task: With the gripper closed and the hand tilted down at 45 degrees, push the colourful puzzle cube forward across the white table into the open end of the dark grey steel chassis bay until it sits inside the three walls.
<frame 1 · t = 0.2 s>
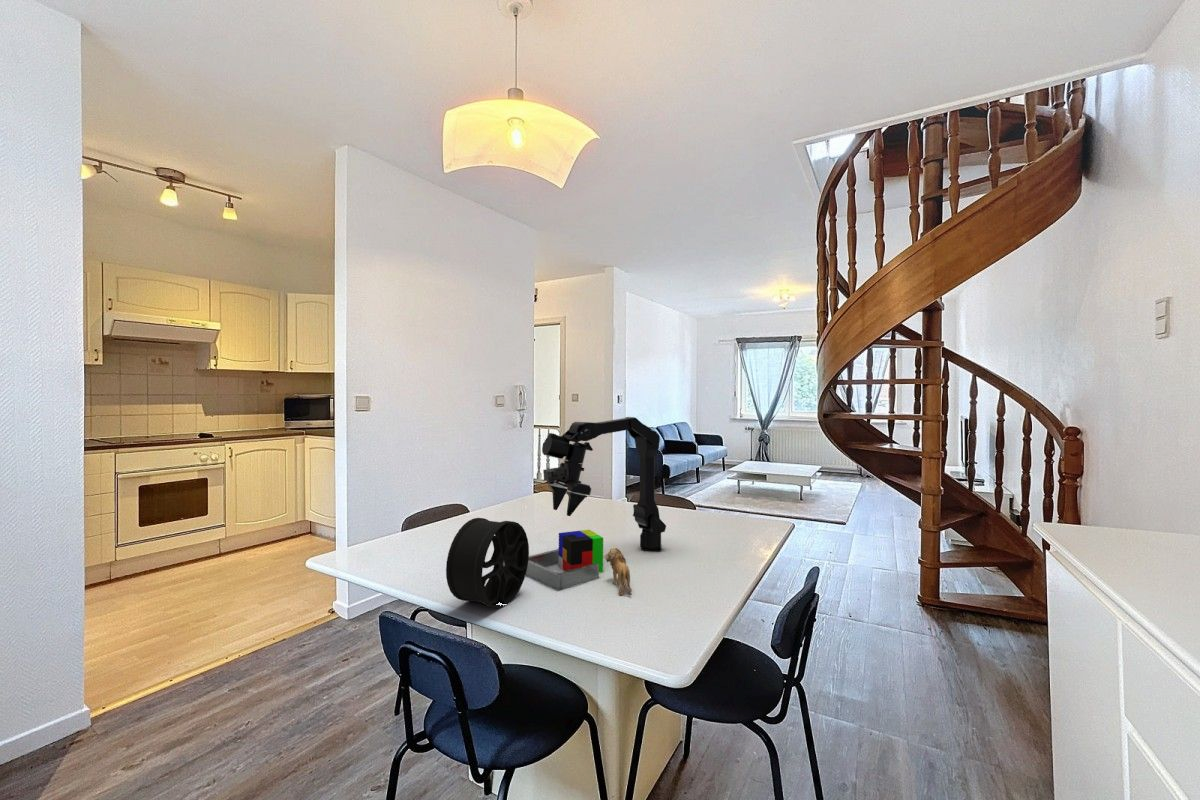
hand: (561, 512, 152), 16 cm above the table, tool pointing down, fingers open, 9 cm apart
car wheel rim: (489, 602, 124), on the table
chassis bay: (560, 574, 143), on the table
puzzle toy: (580, 569, 148), on the table
lion figurine: (619, 587, 134), on the table
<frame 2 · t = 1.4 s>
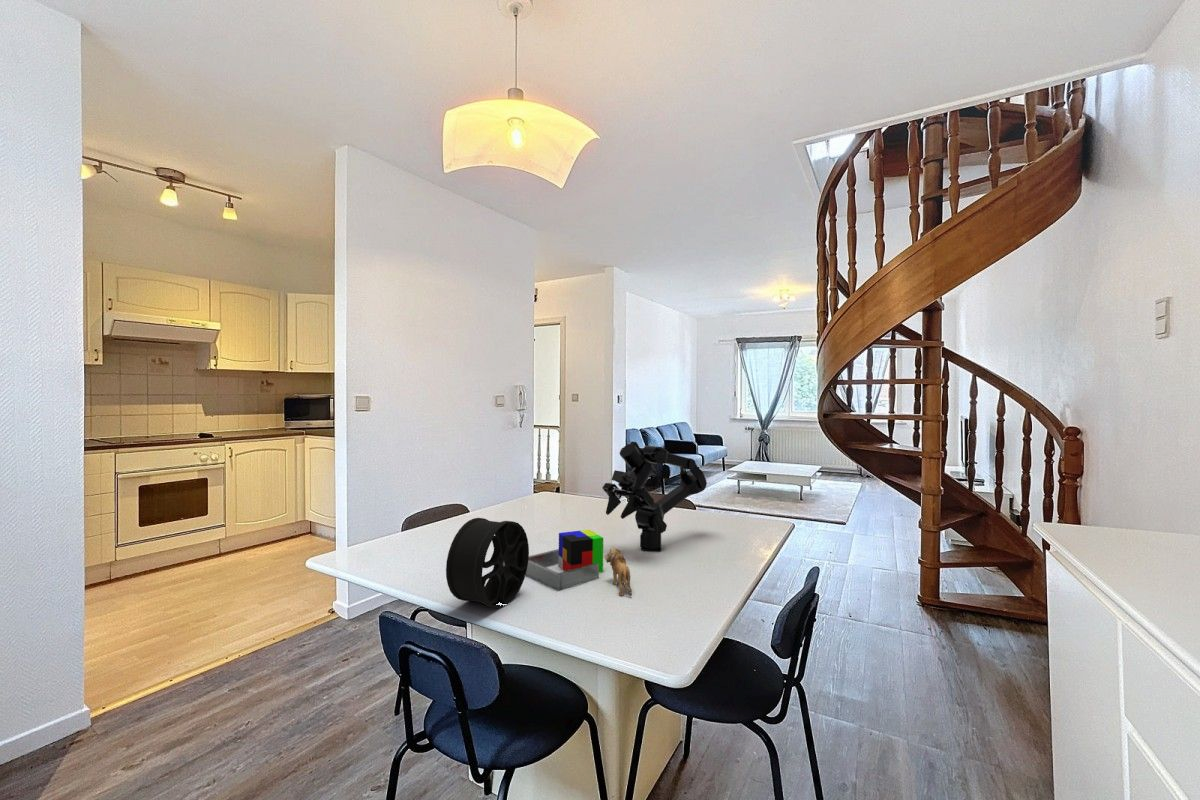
hand: (614, 516, 157), 14 cm above the table, tool tilted 45°, fingers open, 6 cm apart
nothing on the table moved.
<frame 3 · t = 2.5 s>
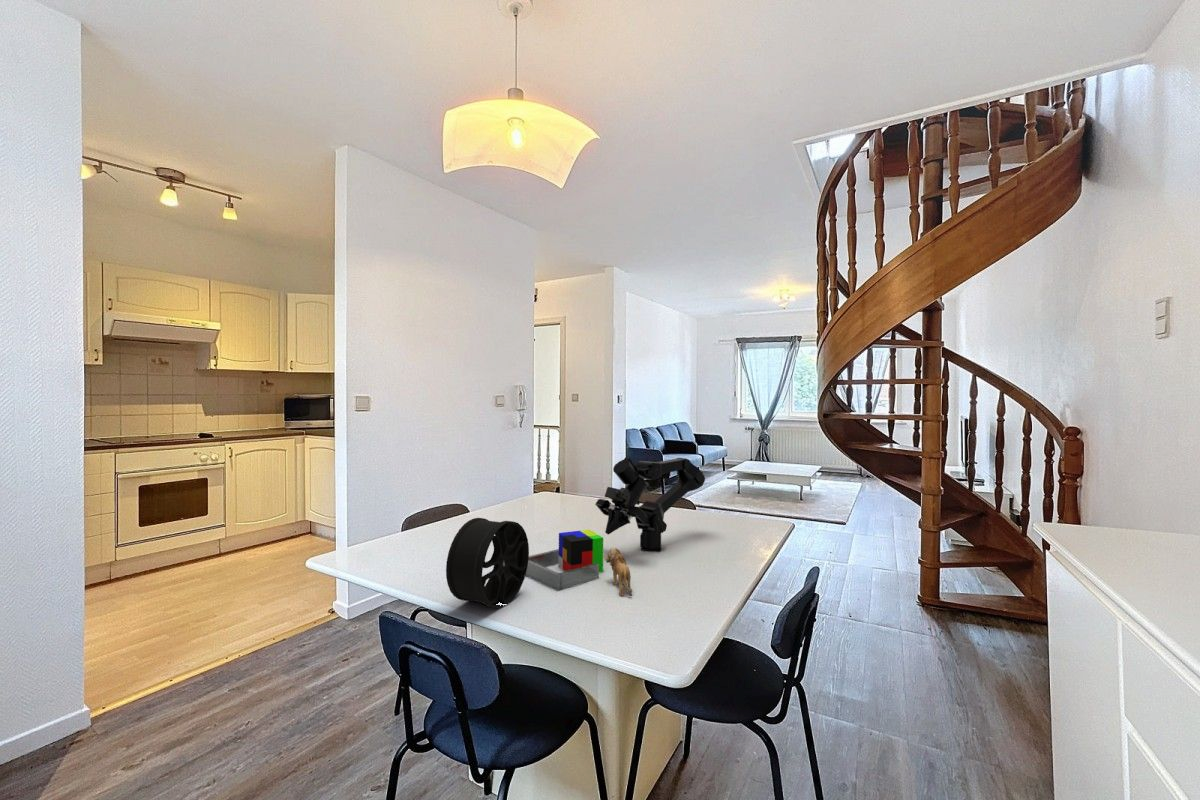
hand: (606, 533, 155), 9 cm above the table, tool tilted 45°, fingers closed
nothing on the table moved.
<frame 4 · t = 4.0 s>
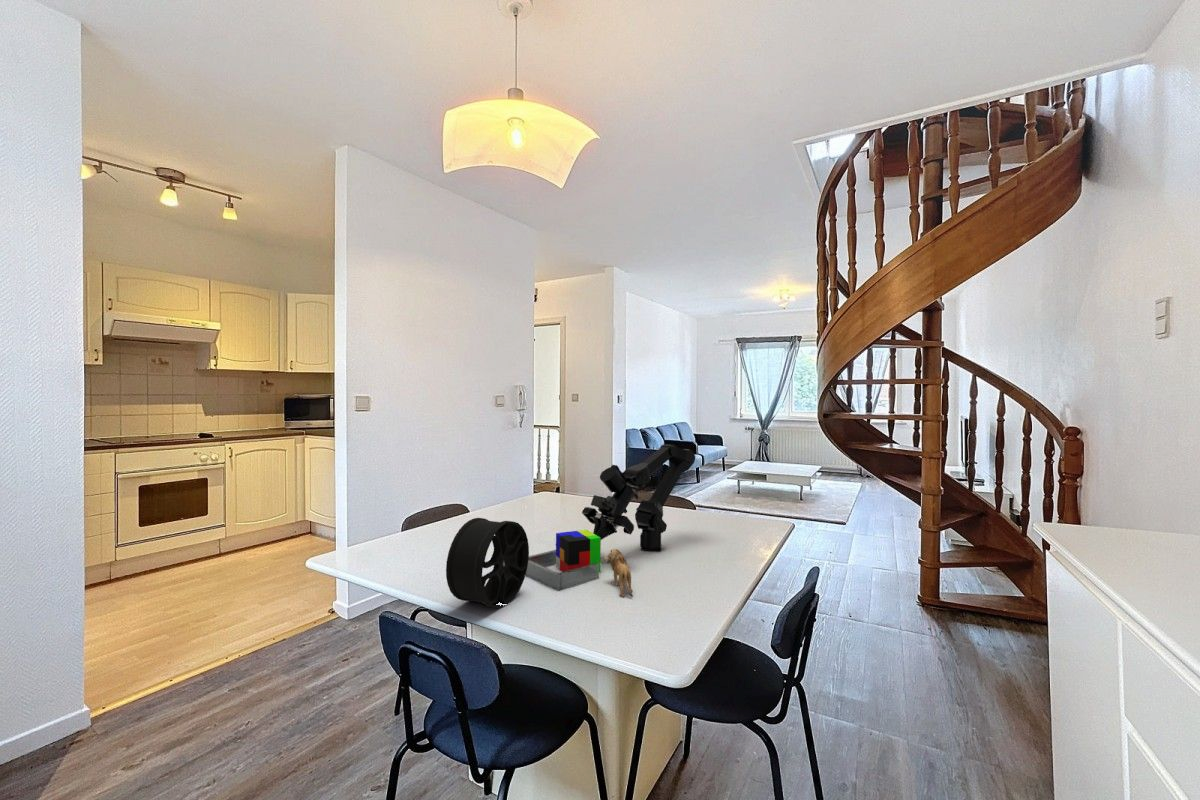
hand: (592, 542, 151), 7 cm above the table, tool tilted 45°, fingers closed
puzzle toy: (577, 570, 148), on the table, touching gripper
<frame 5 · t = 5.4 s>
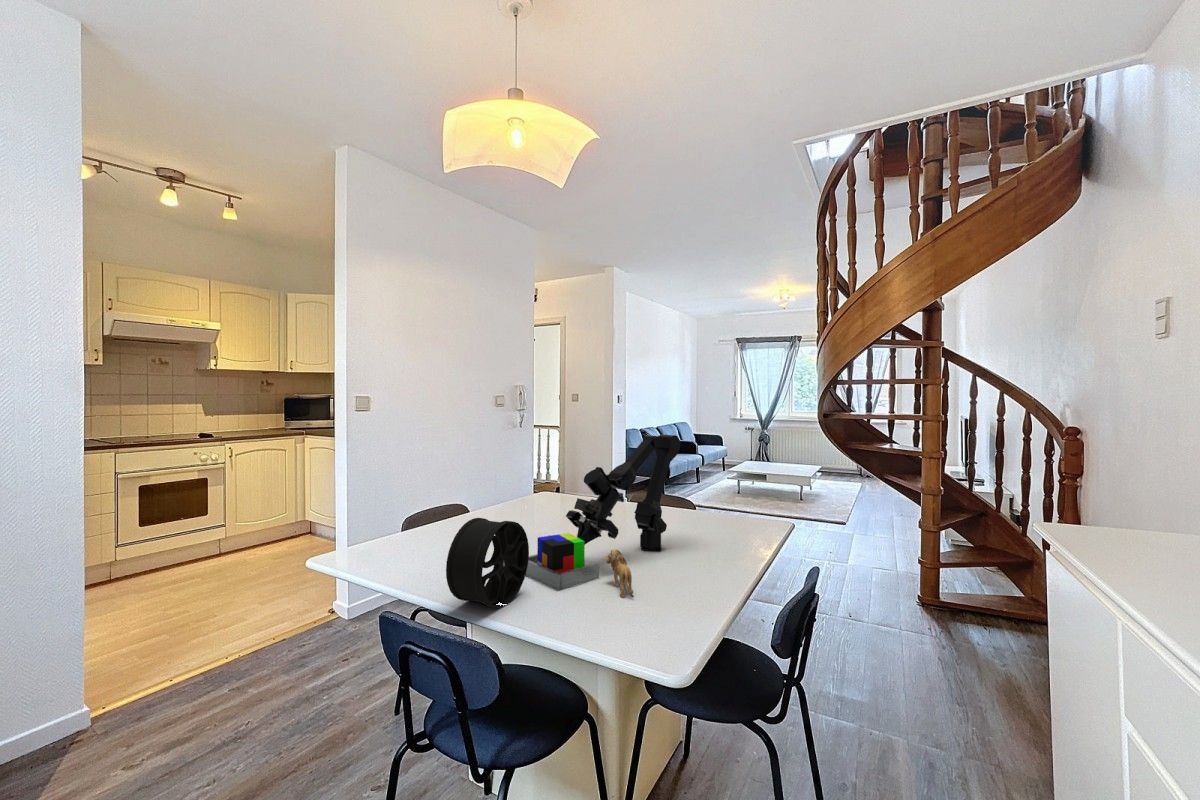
hand: (576, 547, 147), 7 cm above the table, tool tilted 45°, fingers closed
puzzle toy: (560, 575, 144), on the table, touching gripper
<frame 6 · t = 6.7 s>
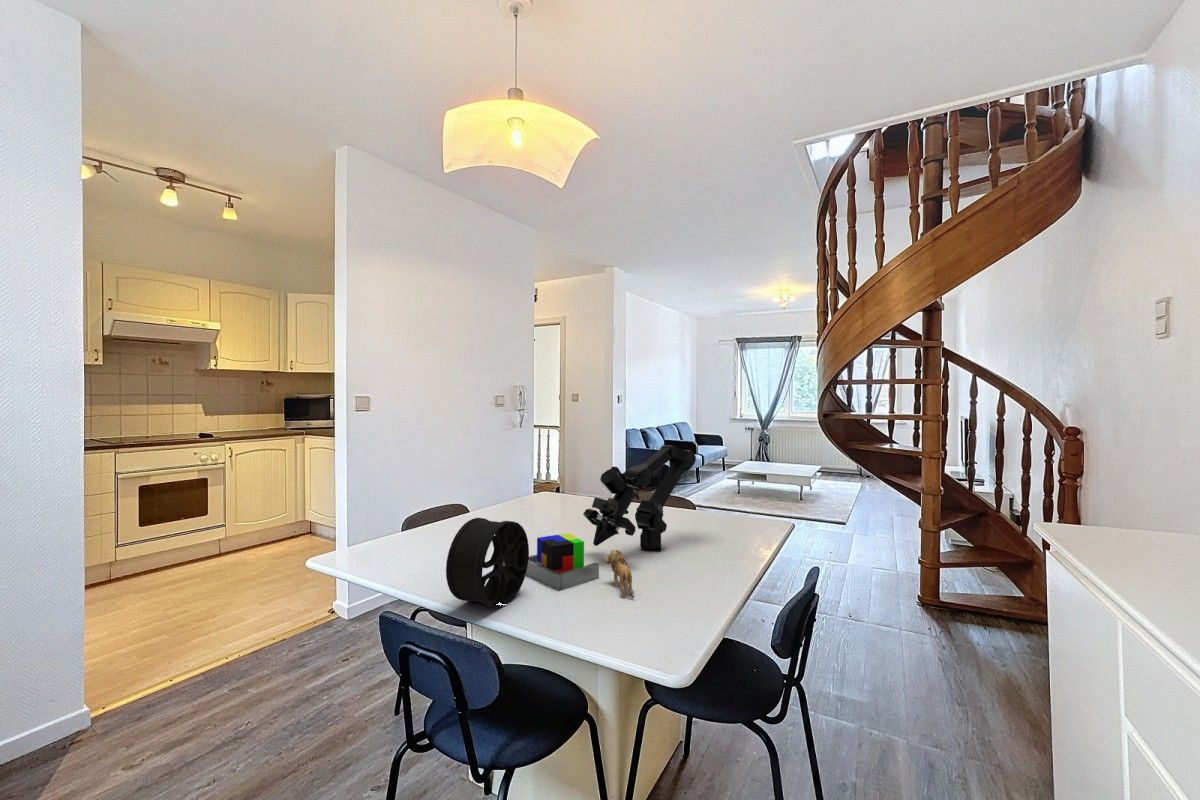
hand: (594, 545, 152), 6 cm above the table, tool tilted 45°, fingers closed
puzzle toy: (560, 575, 143), on the table
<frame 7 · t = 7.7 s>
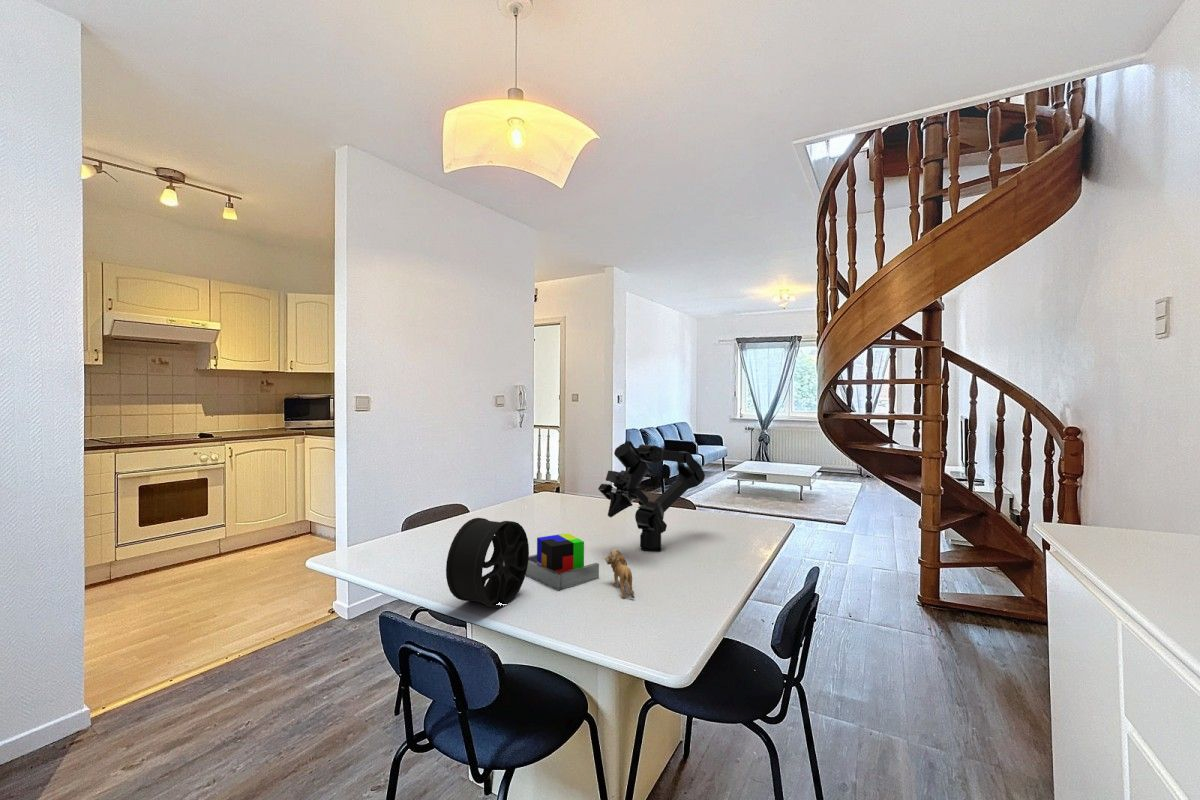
hand: (609, 516, 156), 14 cm above the table, tool tilted 45°, fingers closed
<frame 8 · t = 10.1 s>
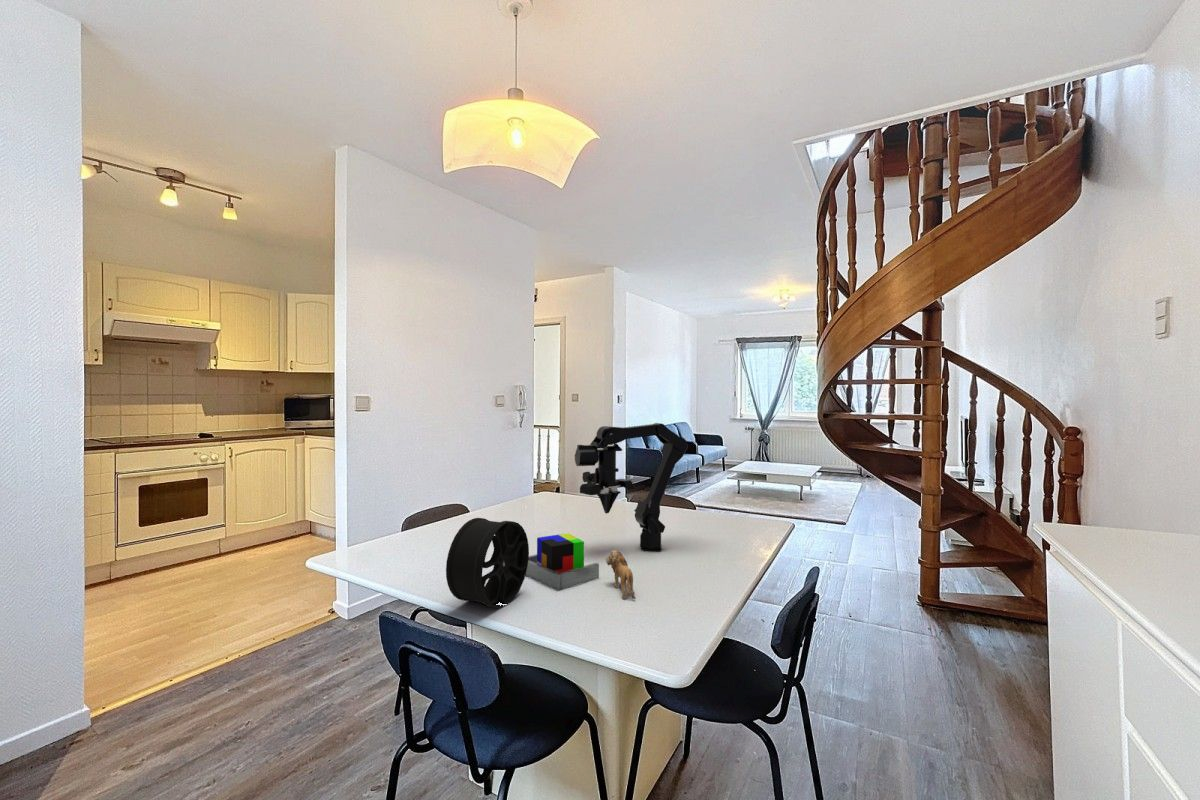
hand: (606, 513, 163), 13 cm above the table, tool pointing down, fingers closed
at the end: puzzle toy 0.4 cm from the chassis bay (horizontally); puzzle toy tilted 0°; puzzle toy moved 7.3 cm from its start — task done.
